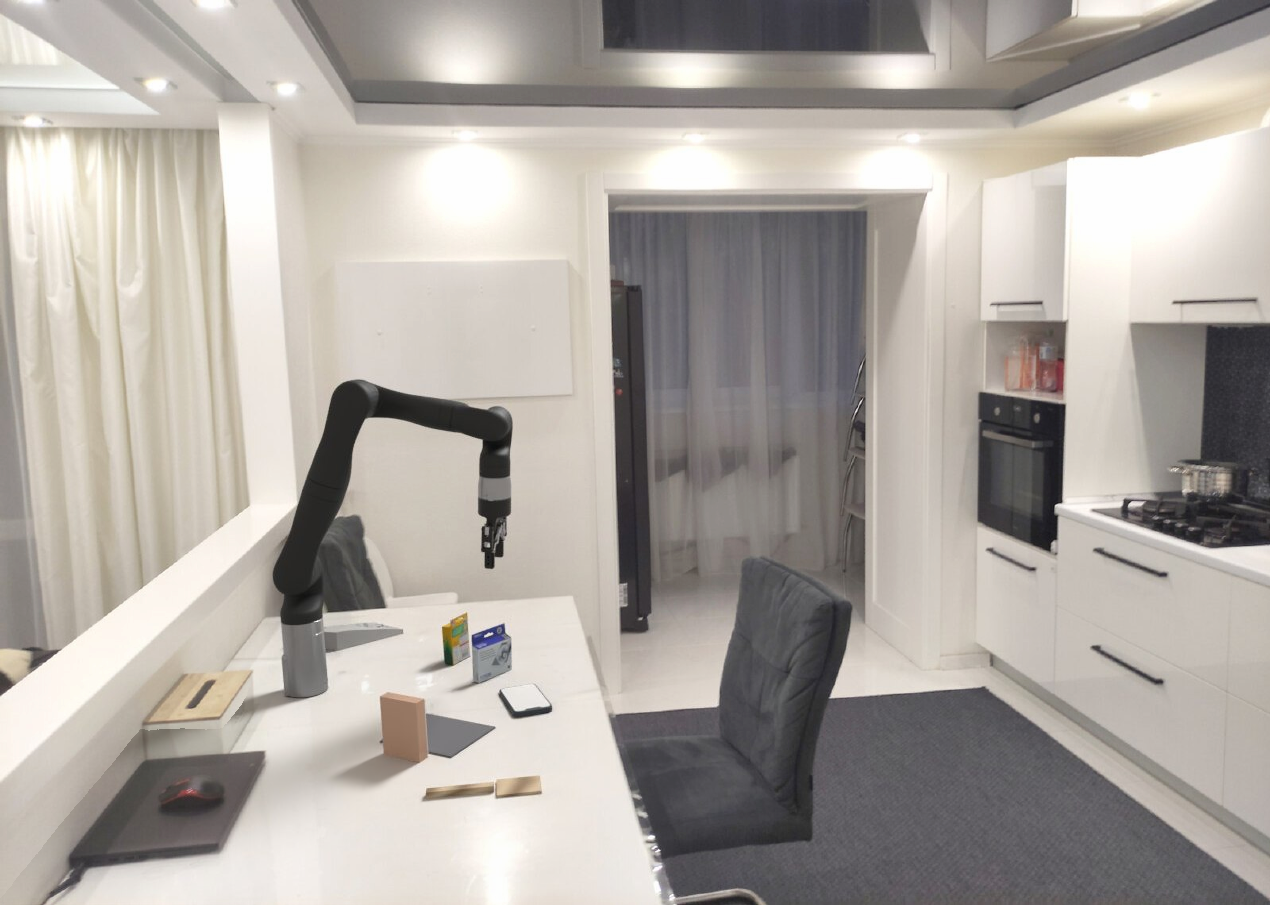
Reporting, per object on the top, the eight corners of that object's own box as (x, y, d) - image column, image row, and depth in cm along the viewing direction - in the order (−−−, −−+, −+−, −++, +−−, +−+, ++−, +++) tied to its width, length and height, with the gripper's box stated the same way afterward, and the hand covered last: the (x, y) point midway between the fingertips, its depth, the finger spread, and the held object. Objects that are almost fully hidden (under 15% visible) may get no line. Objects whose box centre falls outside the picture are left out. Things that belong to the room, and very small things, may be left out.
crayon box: (460, 654, 248) (458, 610, 246) (470, 656, 246) (468, 612, 245) (443, 664, 241) (440, 619, 239) (453, 665, 240) (450, 620, 238)
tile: (383, 754, 191) (379, 696, 190) (393, 748, 194) (389, 691, 192) (419, 762, 187) (416, 703, 186) (429, 756, 190) (426, 697, 188)
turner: (425, 804, 171) (424, 798, 171) (427, 788, 177) (427, 782, 176) (541, 793, 174) (541, 787, 173) (540, 777, 179) (539, 771, 179)
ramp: (400, 626, 274) (399, 607, 273) (407, 643, 259) (405, 623, 259) (296, 639, 265) (294, 620, 264) (296, 658, 250) (295, 638, 249)
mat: (379, 742, 197) (379, 740, 197) (426, 714, 210) (426, 713, 210) (451, 757, 189) (451, 756, 189) (495, 728, 202) (495, 726, 202)
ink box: (479, 684, 227) (476, 636, 225) (472, 682, 228) (469, 635, 227) (513, 669, 236) (511, 623, 234) (506, 667, 237) (504, 622, 236)
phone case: (498, 695, 222) (514, 720, 207) (497, 688, 221) (513, 712, 206) (535, 689, 225) (554, 713, 210) (535, 682, 224) (553, 706, 209)
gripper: (486, 486, 228) (486, 552, 231) (470, 501, 214) (470, 571, 217) (517, 488, 227) (516, 554, 230) (503, 503, 213) (502, 573, 217)
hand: (494, 562), depth 224 cm, fingers open, 8 cm apart
